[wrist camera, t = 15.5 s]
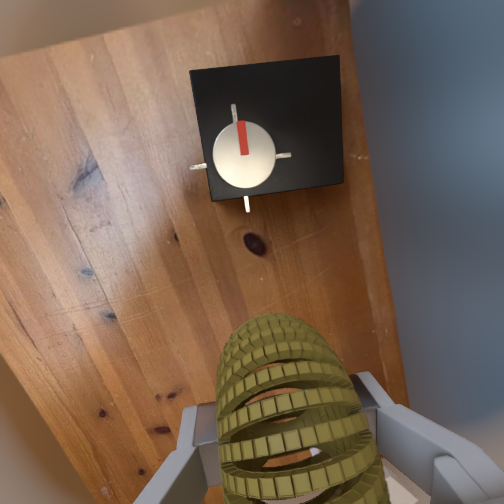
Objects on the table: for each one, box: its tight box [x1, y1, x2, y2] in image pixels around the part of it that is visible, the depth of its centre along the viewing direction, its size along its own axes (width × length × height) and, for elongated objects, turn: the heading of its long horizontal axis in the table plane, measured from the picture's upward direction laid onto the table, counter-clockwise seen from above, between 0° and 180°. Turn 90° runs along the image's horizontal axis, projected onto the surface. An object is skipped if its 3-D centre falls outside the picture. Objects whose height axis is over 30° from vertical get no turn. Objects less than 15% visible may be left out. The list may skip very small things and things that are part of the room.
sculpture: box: [216, 313, 391, 504], centre depth 8 cm, size 8×4×8 cm, turn 9°
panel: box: [189, 55, 344, 212], centre depth 23 cm, size 13×11×3 cm
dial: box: [213, 120, 276, 189], centre depth 19 cm, size 4×4×4 cm
